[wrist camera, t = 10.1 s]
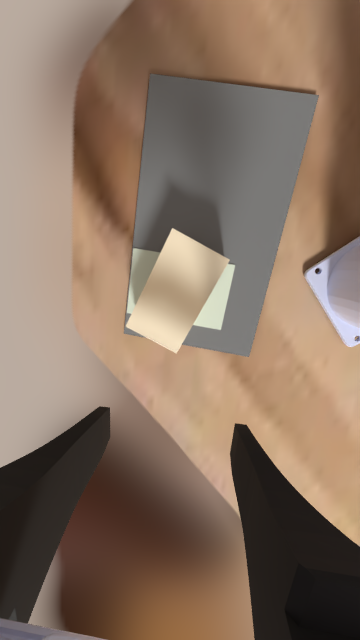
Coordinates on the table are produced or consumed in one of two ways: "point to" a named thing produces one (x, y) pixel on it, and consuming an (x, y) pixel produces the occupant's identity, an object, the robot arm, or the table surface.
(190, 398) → the table surface
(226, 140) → the mat
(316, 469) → the table surface
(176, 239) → the beige wooden block
